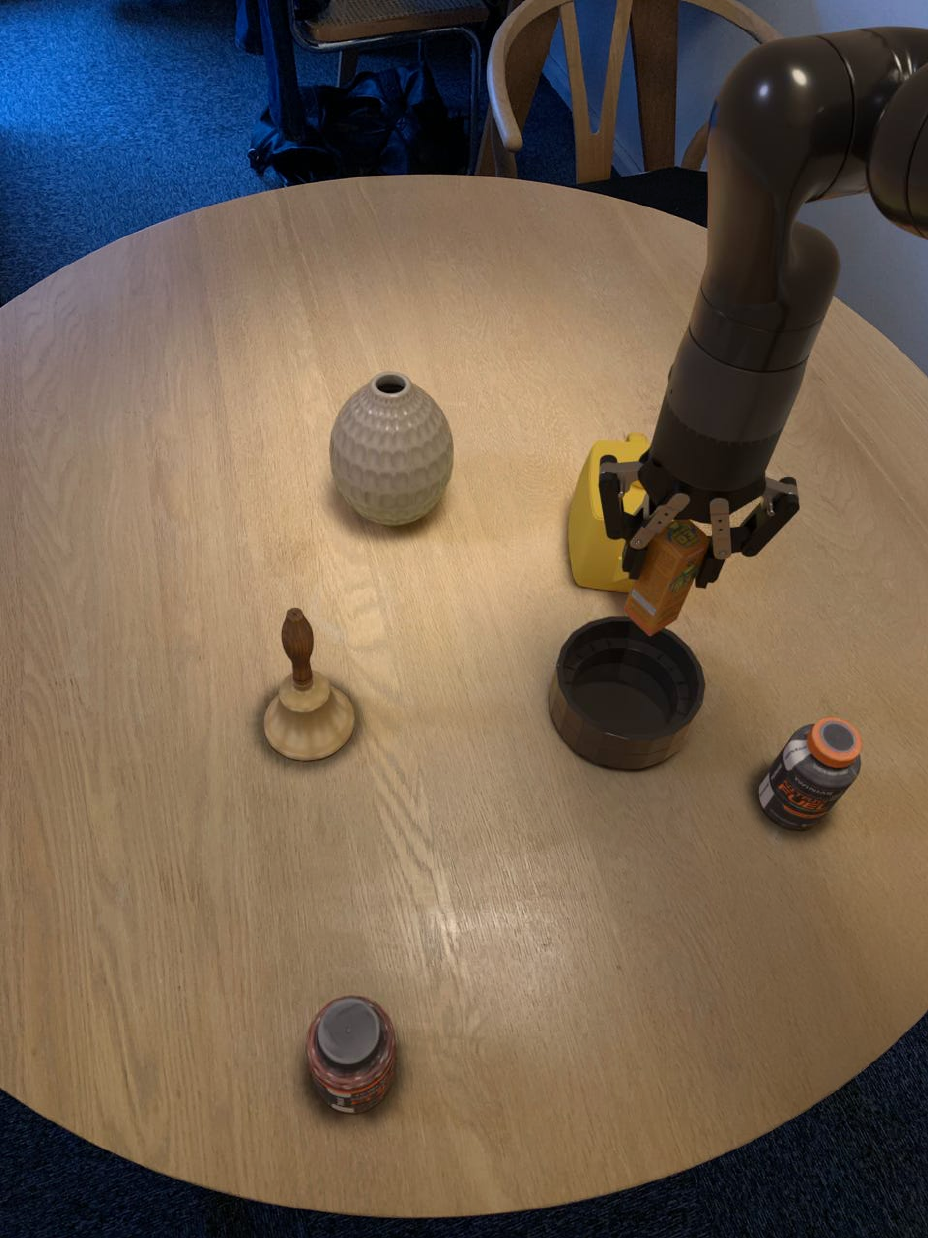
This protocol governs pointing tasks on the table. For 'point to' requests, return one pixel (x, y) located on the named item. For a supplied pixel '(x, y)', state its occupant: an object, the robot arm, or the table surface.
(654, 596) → the supplement box
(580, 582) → the teapot
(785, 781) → the pill bottle
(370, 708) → the table surface
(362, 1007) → the supplement bottle
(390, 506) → the vase
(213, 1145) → the table surface
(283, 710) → the hand bell
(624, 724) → the bowl
